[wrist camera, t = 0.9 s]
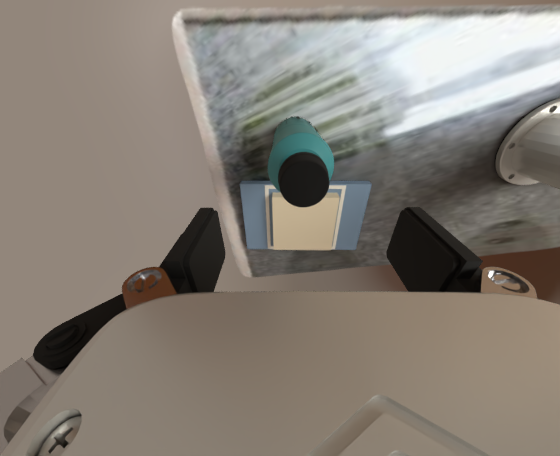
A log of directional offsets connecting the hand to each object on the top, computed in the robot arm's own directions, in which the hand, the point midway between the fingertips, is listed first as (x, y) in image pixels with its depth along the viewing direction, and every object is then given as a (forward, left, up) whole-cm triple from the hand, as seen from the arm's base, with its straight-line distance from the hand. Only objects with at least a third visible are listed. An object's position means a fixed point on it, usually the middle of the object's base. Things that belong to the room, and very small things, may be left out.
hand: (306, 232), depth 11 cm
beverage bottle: (0, 0, -26) cm, 26 cm away
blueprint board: (-2, +14, -26) cm, 29 cm away
